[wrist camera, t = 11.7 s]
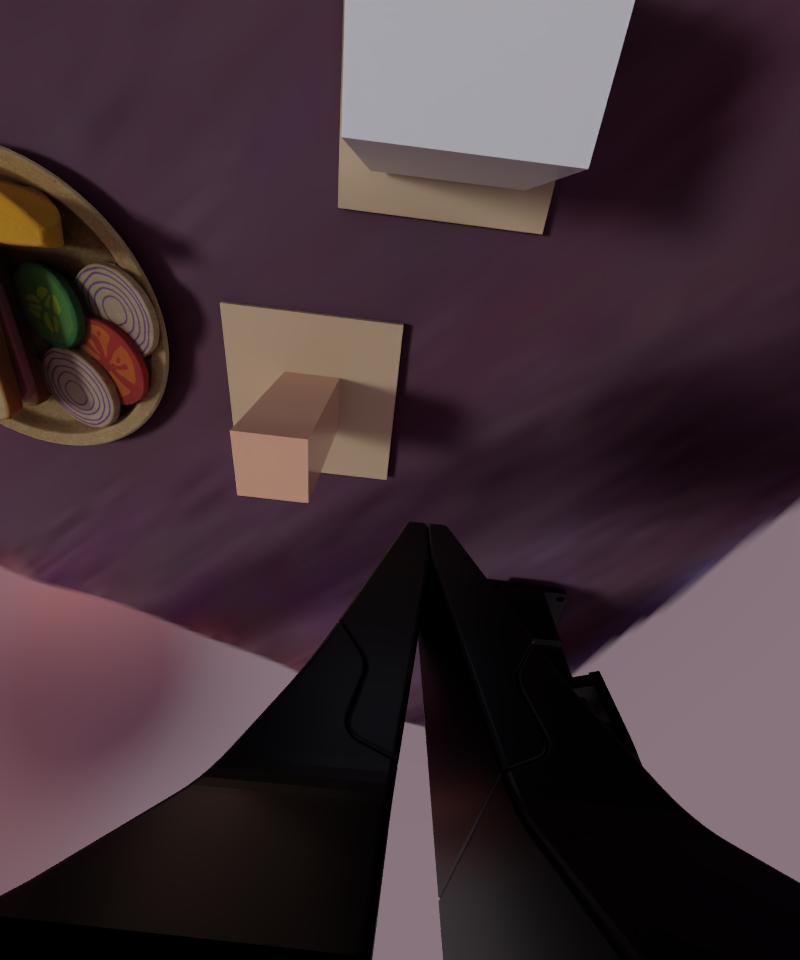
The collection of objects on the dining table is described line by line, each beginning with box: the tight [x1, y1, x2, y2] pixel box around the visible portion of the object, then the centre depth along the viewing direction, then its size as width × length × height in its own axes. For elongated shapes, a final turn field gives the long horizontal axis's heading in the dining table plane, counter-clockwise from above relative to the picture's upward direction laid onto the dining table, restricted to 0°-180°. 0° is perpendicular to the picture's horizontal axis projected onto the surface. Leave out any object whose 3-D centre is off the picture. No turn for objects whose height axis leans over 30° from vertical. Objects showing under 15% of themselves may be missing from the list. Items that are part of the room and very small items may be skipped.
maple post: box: [338, 0, 556, 234], centre depth 11 cm, size 8×8×7 cm
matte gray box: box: [341, 0, 635, 191], centre depth 11 cm, size 6×6×7 cm
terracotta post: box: [220, 301, 404, 503], centre depth 17 cm, size 8×8×7 cm
